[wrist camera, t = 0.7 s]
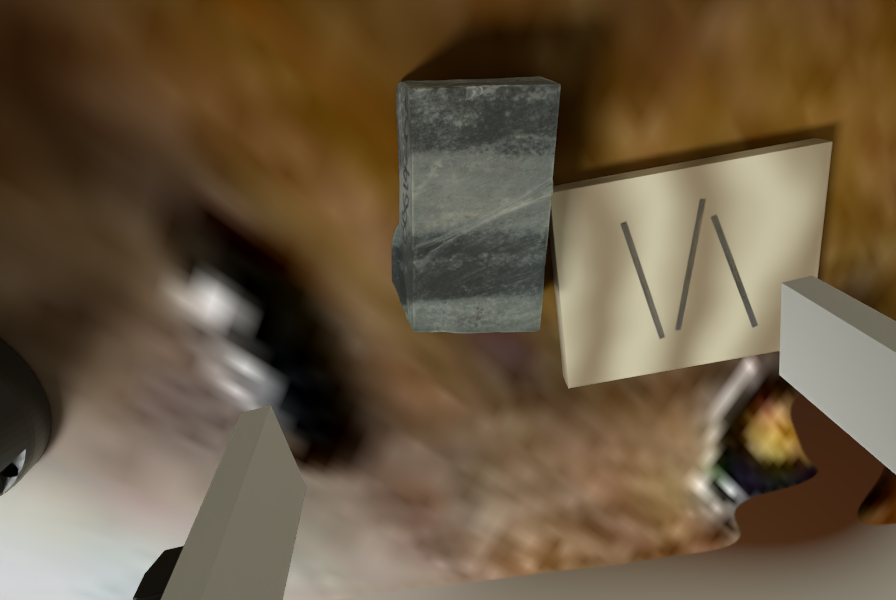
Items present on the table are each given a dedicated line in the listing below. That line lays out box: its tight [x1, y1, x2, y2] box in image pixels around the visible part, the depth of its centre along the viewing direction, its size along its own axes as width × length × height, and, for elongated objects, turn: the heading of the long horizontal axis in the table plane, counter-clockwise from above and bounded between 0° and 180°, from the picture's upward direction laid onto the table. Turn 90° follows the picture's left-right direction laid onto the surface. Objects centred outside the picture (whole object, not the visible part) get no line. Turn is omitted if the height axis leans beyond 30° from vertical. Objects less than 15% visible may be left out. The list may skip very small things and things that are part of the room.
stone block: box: [392, 76, 561, 333], centre depth 33 cm, size 9×14×5 cm, turn 0°
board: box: [549, 138, 833, 388], centre depth 37 cm, size 17×14×2 cm
